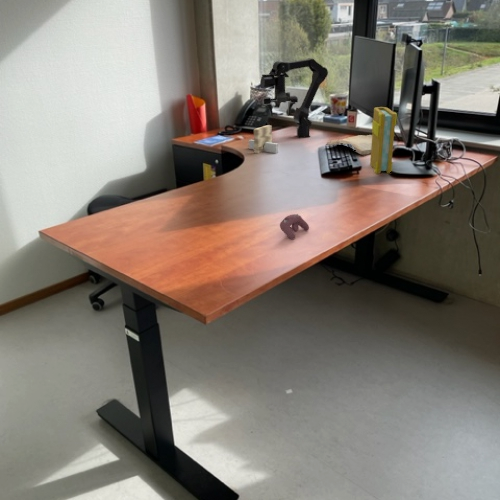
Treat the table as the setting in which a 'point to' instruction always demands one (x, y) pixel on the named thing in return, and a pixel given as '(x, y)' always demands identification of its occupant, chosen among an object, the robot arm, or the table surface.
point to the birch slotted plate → (262, 137)
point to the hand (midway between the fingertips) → (280, 116)
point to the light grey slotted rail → (266, 146)
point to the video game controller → (293, 221)
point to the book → (382, 139)
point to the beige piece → (357, 143)
